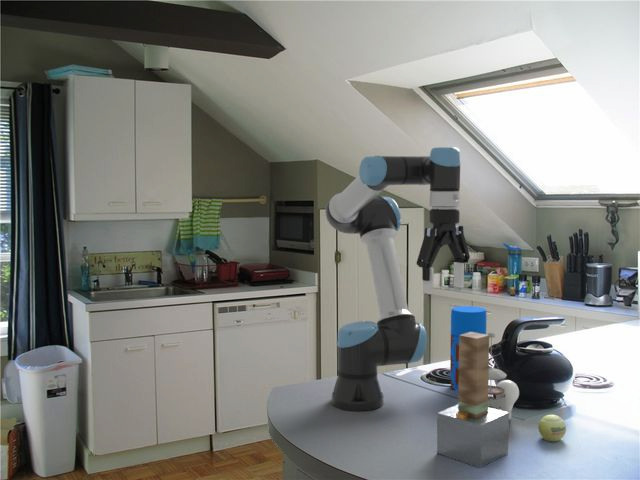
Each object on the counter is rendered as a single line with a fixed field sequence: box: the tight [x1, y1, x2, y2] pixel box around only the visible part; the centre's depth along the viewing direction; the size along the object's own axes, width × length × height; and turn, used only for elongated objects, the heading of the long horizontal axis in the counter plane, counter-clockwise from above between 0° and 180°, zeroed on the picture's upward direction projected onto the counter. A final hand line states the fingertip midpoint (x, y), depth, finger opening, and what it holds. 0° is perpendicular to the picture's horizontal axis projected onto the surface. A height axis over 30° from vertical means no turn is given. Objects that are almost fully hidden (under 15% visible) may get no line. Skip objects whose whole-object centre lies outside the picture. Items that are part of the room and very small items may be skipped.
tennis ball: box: [537, 414, 567, 442], centre depth 176 cm, size 6×7×7 cm
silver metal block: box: [436, 404, 510, 468], centre depth 167 cm, size 12×12×11 cm
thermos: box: [449, 305, 488, 392], centre depth 218 cm, size 11×11×25 cm
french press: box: [487, 332, 510, 429], centre depth 186 cm, size 10×12×25 cm
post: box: [457, 332, 490, 418], centre depth 166 cm, size 5×5×22 cm
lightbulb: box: [495, 379, 520, 420], centre depth 190 cm, size 6×6×11 cm
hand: (443, 290), depth 181 cm, fingers open, 13 cm apart
